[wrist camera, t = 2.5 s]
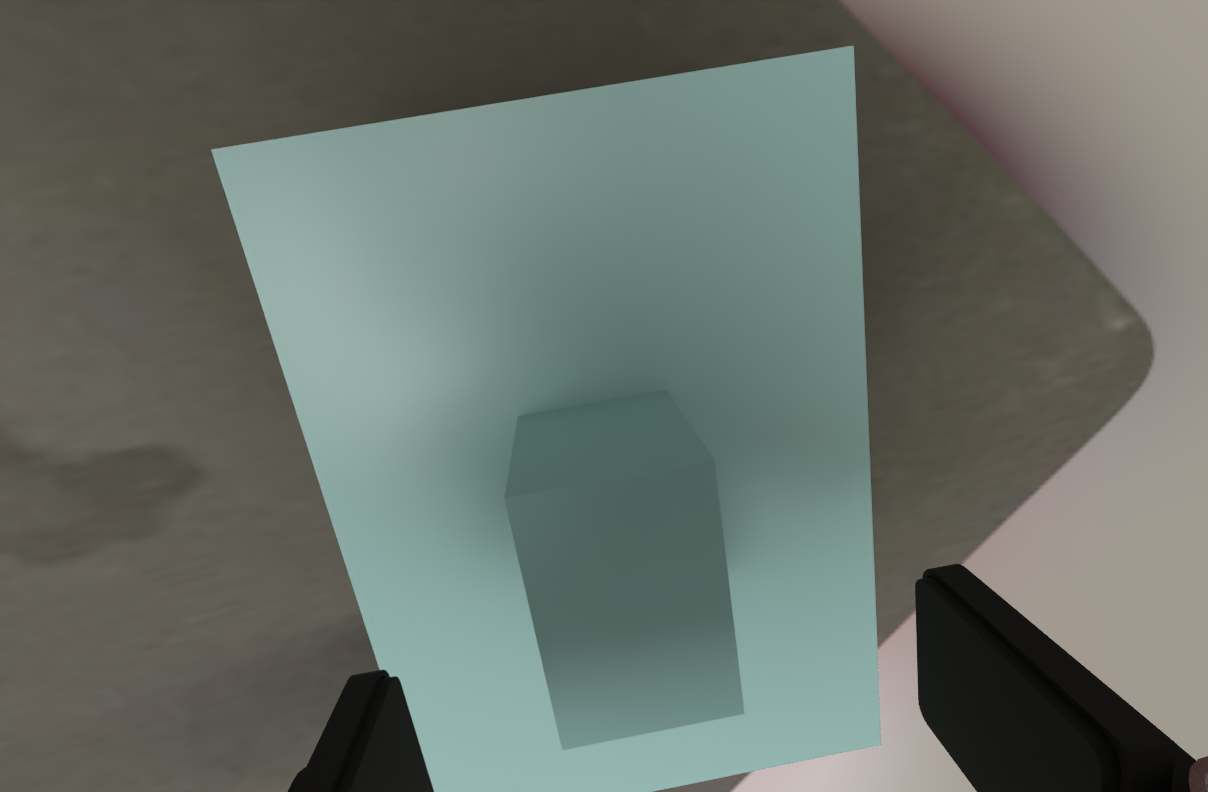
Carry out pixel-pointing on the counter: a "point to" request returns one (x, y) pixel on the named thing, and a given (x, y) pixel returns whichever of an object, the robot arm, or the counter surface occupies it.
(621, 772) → the lid
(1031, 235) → the counter surface
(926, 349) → the counter surface
